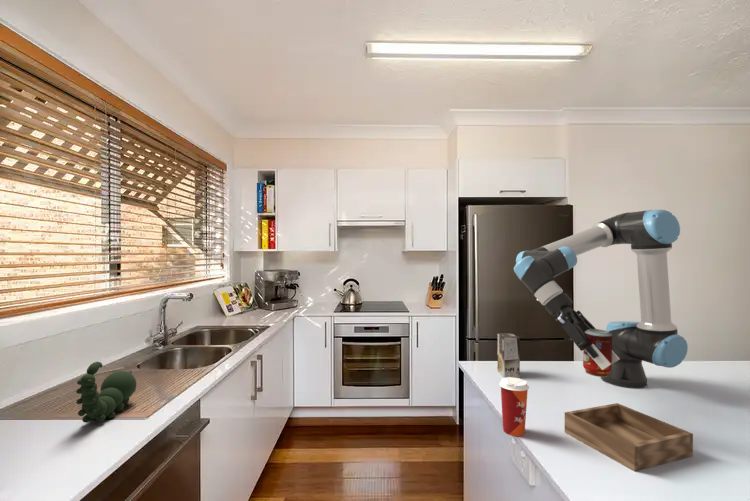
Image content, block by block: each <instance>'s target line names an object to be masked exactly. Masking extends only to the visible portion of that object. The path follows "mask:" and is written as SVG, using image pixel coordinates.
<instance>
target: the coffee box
mask: <svg viewBox="0 0 750 501" xmlns="http://www.w3.org/2000/svg"><path fill="white" fill-rule="evenodd" d="M520 351H521V337H520V336H518V335H516V334H514V333H512V332H504V333H503V332H502V333H501V332H499V333H497V372H498V373H499V374H500V376H501V377H503V378H507V377H513V378H519V379H521V378H520V374H521V373H520V371H521V370H520V369H521V368H520V366H521V365H520V364H521V363H520V362H521V361H520V359H521V358H520V357H521V352H520Z"/></svg>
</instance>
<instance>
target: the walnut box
mask: <svg viewBox="0 0 750 501" xmlns="http://www.w3.org/2000/svg"><path fill="white" fill-rule="evenodd" d="M564 433H565V434H567V435H569V436H571V438H574V439H575V440H578V441H579V442H581V443H583V444H584V445H586V446H588V447H591V449H594V450H596V451H598V452H599V453H601V454H603V455H605V456H606V457H608V458H610V459H612V460H613V461H615V462H617V463H618V464H621V465H622V466H624V467H625V468H628V469H630V470H631V471H633V472H637V471H642V470H645V469H649V468H652V467H655V466H656V467H657V466H659V465H660V466H661V465H664V464H667V463H671V462H675V461H678V460H683V459H687V458H691V457H693V456H694V454H693V453H694V449H693V448H694V433H692V432H690V431H687V430H684V429H683V428H680V427H678V426H675V425H673V424H671V423H668V422H665V421H663V420H660V419H658V418H655V417H653V416H650V415H647V414H645V413H643V412H640V411H639V410H635V409H633V408H630V407H628V406H626V405H623V404H620V403H618V402H617V403H611V404H606V405H600V406H599V405H598V406H594V407H593V406H592V407H588V408H582V409H577V410H572V411H571V410H570V411H565V412H564Z"/></svg>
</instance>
